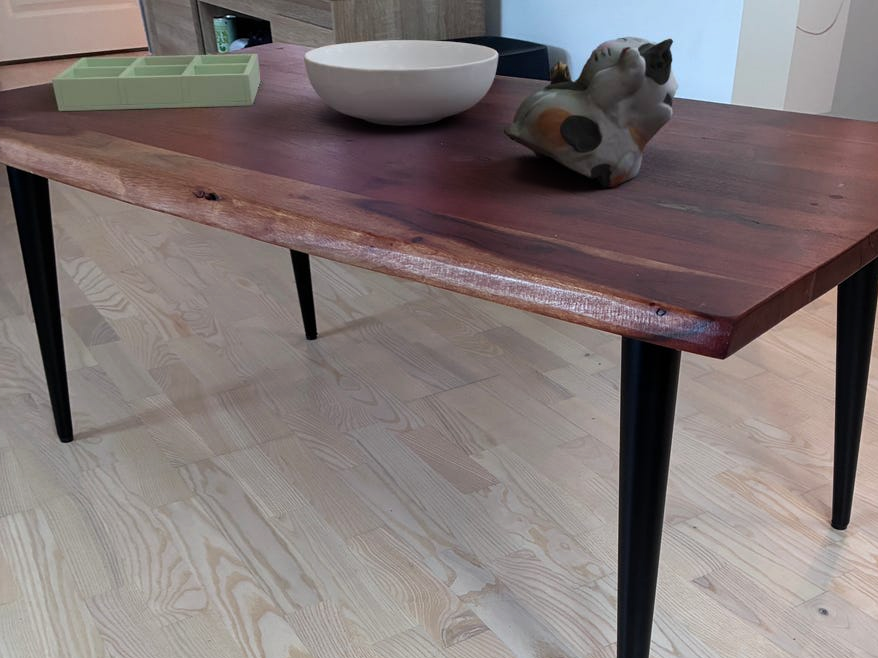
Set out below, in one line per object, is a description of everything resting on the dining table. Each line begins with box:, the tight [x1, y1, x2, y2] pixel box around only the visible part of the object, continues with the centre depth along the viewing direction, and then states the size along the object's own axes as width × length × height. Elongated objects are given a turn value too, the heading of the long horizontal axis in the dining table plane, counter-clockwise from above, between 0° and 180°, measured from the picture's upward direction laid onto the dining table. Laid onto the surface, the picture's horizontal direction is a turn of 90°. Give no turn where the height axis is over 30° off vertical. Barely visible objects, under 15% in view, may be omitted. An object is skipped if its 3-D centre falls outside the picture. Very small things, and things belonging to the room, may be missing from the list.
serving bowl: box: [303, 39, 499, 127], centre depth 101 cm, size 21×21×7 cm
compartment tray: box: [51, 53, 261, 112], centre depth 112 cm, size 22×15×4 cm
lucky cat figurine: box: [503, 36, 679, 188], centre depth 81 cm, size 15×12×14 cm
